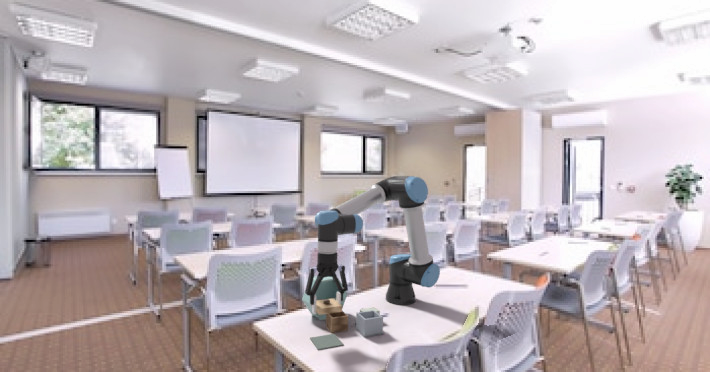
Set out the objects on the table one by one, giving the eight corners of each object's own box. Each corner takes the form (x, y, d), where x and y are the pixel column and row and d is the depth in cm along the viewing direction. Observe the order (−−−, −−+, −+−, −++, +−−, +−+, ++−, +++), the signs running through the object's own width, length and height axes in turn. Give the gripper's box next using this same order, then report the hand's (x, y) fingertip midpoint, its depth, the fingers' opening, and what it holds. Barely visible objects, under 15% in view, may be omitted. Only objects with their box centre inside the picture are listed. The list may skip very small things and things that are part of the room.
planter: (326, 329, 161) (304, 295, 153) (317, 323, 167) (295, 290, 159) (352, 302, 169) (332, 268, 162) (342, 297, 175) (323, 264, 168)
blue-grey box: (373, 326, 153) (373, 310, 153) (382, 334, 146) (382, 316, 146) (356, 329, 150) (356, 312, 150) (364, 337, 143) (364, 319, 142)
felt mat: (334, 334, 145) (334, 333, 145) (343, 345, 136) (343, 344, 136) (309, 338, 141) (309, 337, 141) (317, 350, 132) (317, 349, 132)
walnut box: (341, 324, 155) (341, 310, 155) (347, 330, 149) (348, 315, 149) (325, 326, 152) (326, 312, 152) (331, 333, 146) (331, 318, 146)
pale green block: (373, 318, 163) (373, 307, 163) (379, 322, 158) (379, 310, 158) (359, 320, 159) (359, 309, 159) (365, 325, 155) (365, 313, 155)
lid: (333, 303, 144) (333, 295, 144) (341, 311, 136) (342, 302, 136) (311, 306, 140) (311, 297, 140) (318, 314, 132) (319, 305, 132)
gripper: (350, 248, 145) (349, 304, 146) (296, 251, 137) (295, 311, 137) (357, 251, 138) (356, 310, 139) (302, 255, 130) (301, 318, 130)
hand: (326, 311), depth 138 cm, fingers closed on lid, 9 cm apart
